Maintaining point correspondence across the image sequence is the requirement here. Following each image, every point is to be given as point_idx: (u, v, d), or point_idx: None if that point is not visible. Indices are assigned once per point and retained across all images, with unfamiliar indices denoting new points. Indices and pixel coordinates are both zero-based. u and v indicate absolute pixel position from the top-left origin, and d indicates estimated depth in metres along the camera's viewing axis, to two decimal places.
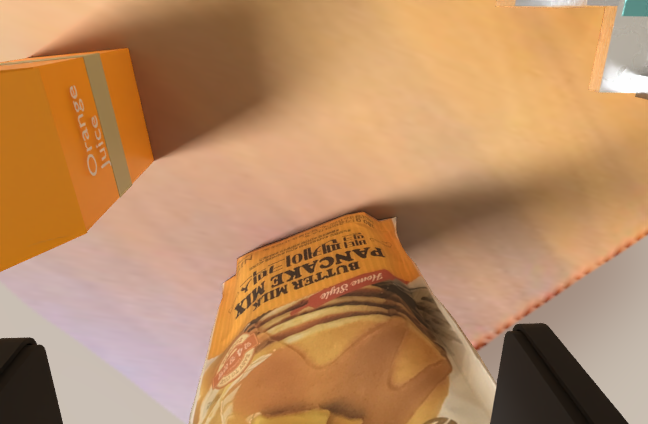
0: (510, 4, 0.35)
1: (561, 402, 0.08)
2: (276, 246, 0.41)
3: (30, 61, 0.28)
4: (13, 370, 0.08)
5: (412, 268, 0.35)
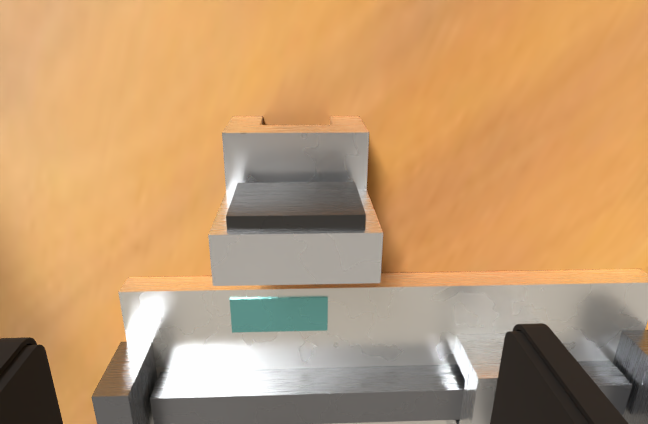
0: (227, 128, 0.21)
1: (561, 402, 0.08)
2: None
3: None
4: (13, 370, 0.08)
5: None
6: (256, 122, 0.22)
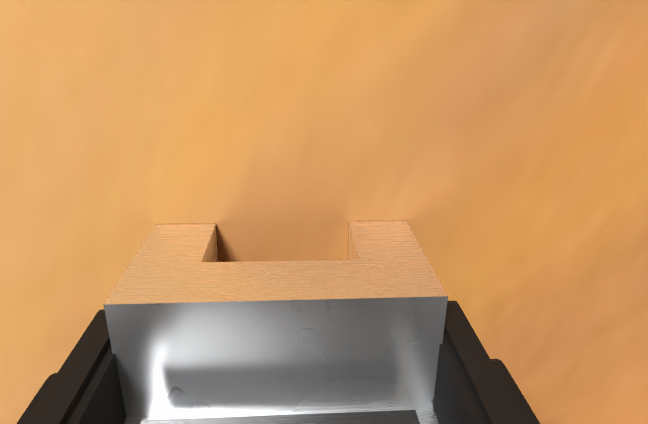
0: (123, 282, 0.09)
1: (451, 367, 0.09)
2: None
3: None
4: None
5: None
6: (197, 250, 0.10)
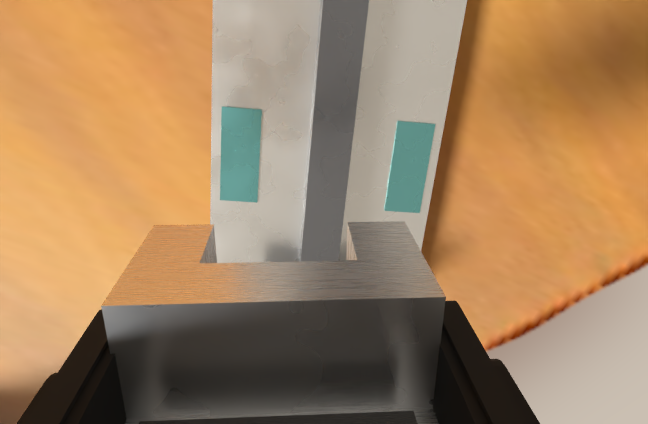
0: (121, 283, 0.09)
1: (451, 368, 0.09)
2: None
3: None
4: None
5: None
6: (195, 251, 0.10)
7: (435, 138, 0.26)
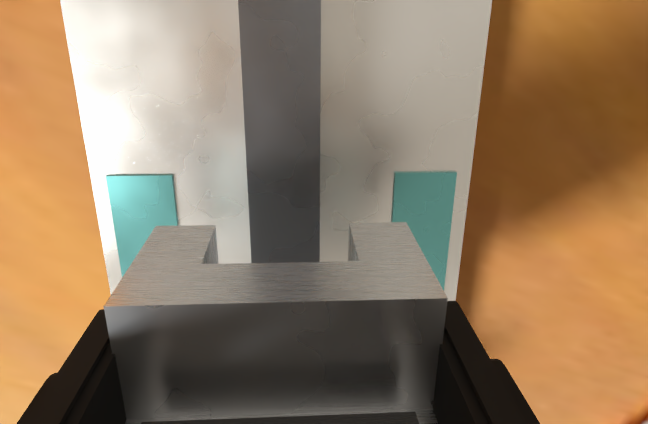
0: (123, 283, 0.09)
1: (451, 368, 0.09)
2: None
3: None
4: None
5: None
6: (197, 252, 0.10)
7: (458, 194, 0.16)
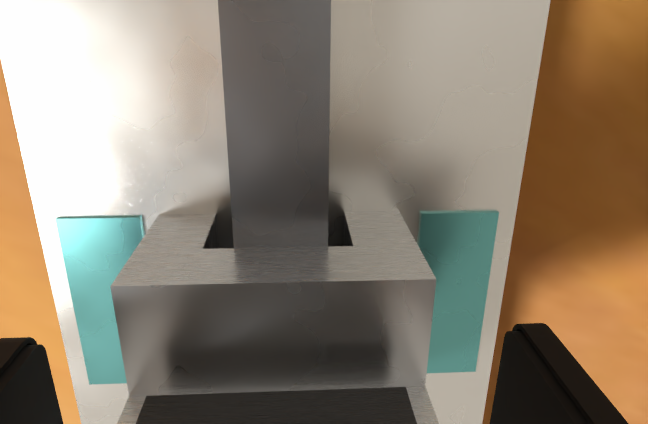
0: (128, 266, 0.10)
1: (561, 402, 0.08)
2: None
3: None
4: (13, 370, 0.08)
5: None
6: (198, 238, 0.11)
7: (499, 238, 0.13)
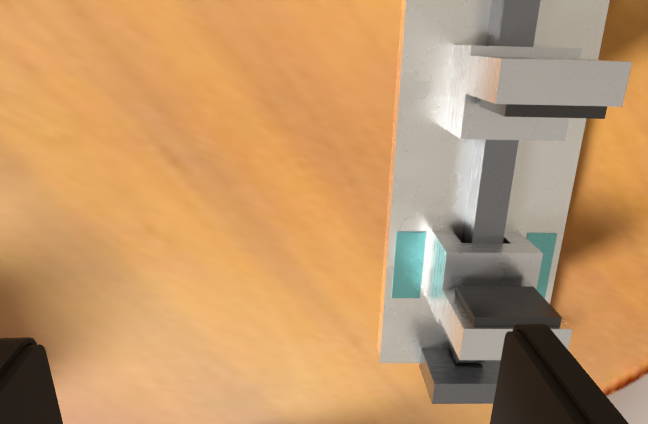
0: (444, 247, 0.31)
1: (561, 402, 0.08)
2: None
3: None
4: (13, 370, 0.08)
5: None
6: (456, 239, 0.32)
7: (557, 243, 0.34)
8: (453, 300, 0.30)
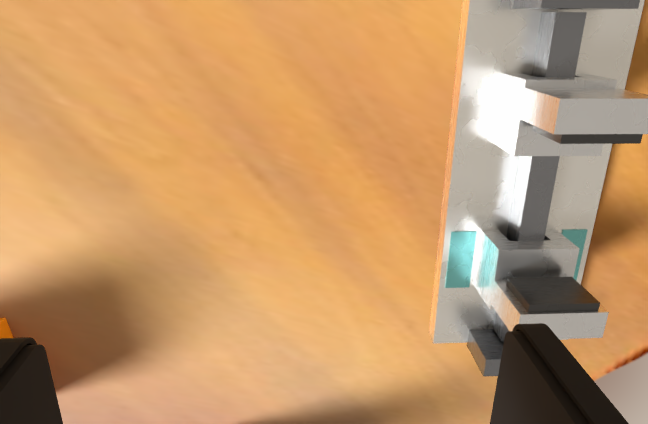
0: (496, 245, 0.36)
1: (561, 402, 0.08)
2: None
3: None
4: (13, 370, 0.08)
5: None
6: (504, 238, 0.38)
7: (587, 238, 0.40)
8: (506, 290, 0.35)
